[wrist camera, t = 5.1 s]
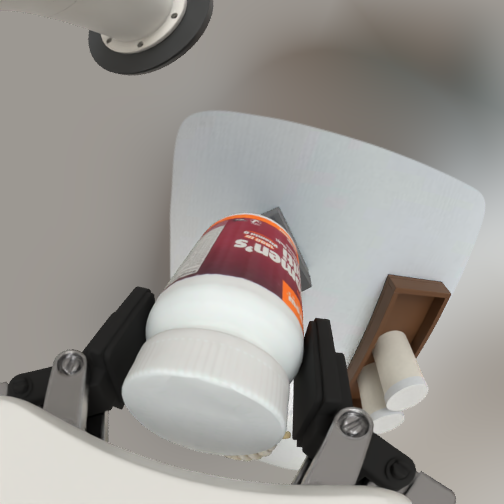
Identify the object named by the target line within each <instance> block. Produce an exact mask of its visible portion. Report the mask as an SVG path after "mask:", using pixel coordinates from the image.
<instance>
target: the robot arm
mask: <svg viewBox="0 0 504 504" xmlns="http://www.w3.org/2000/svg"><path fill="white" fill-rule="evenodd" d="M186 7H187V0H0V11H14V12H22V13H28V14H34V15H38V16H43V17H47V18H51V19H55V20H59V21H62V22H66V23H69V24H72V25H76V26H79V27H82V28H85V29H88V30H91V31H94V32H97V33H100V34H101V37H102V40H103V42H104V43H105V45H106V46H107V47H108V48H110V49H111V50H113V51H116V52H119V53H123V54H133V53H139V52H142V51H145V50H148V49H150V48H152V47H154V46H156V45H157V44H159V43H160V42H162V41H163V40H164V39H165V38H167V37H168V36H169V35H170V34H171V33H172V32H173V31H174V30H175V29H176V28H177V26H178V25H179V23H180V22H181V20H182V18H183V16H184V14H185V11H186ZM154 304H155V298H154V294H153V293H151V291H150V290H149V289H146V288H142V287H136V288H135V289H134V290H133V291H132V292H131V293H130V295H129V296H128V297H127V298H126V300H125V301H124V302H123V303H122V305H121V306H120V307H119V308H118V310H117V311H116V312H114V313H113V314H112V315H111V316H110V317H109V318H108V320H107V321H106V322H105V323H104V325H103V326H102V327H101V328H100V330H99V331H98V332H97V334H96V335H95V336H94V337H93V339H92V340H91V341H90V343H89V344H88V345H87V347H86V348H85V349H84V351H83V352H80V351H78V350H73V349H72V350H66V351H63V352H62V353H60V354H59V355H58V356H57V357H56V358H55V360H54V362H53V366H52V367H49V368H45V369H41V370H36V371H32V372H28V373H23V374H19V375H17V376H15V377H14V378H13V379H12V380H11V381H10V383H9V384H8V383H7V382H3V383H0V504H455V503H456V496H455V494H454V492H453V491H452V490H450V489H449V488H447V487H445V486H444V485H442V484H441V483H439V482H437V481H436V480H434V479H433V478H431V477H430V476H428V475H427V474H425V473H424V472H422V471H421V472H420V473H418V472H417V471H416V468H415V464H414V463H413V461H412V460H411V459H410V458H409V457H408V456H406V455H405V454H403V453H402V452H401V451H399V450H398V449H396V448H395V447H393V446H392V445H391V444H389V443H388V442H386V441H385V440H384V439H382V438H381V437H380V436H378V435H377V434H376V433H374V432H373V428H374V423H373V419H372V418H371V416H370V415H369V414H368V413H367V412H366V411H364V410H362V409H360V408H357V407H353V403H352V397H351V391H350V385H349V379H348V373H347V367H346V362H345V357H344V354H343V353H336V352H335V348H334V342H333V336H332V330H331V325H330V320H328V319H320V318H315V320H314V321H310V322H309V324H308V327H307V331H306V334H305V337H304V354H303V360H302V363H301V366H300V369H299V371H298V373H297V375H296V376H295V378H294V395H293V434H292V438H293V440H297V447H302V452H304V453H305V454H306V455H307V456H306V458H305V460H304V462H303V464H302V465H301V467H300V469H299V471H298V473H297V475H296V476H295V478H294V480H293V482H292V483H291V485H290V484H274V483H263V482H252V481H246V480H238V479H232V478H226V477H220V476H215V475H210V474H205V473H200V472H196V471H192V470H188V469H184V468H180V467H177V466H173V465H169V464H166V463H162V462H159V461H156V460H153V459H150V458H147V457H144V456H141V455H139V454H136V453H133V452H130V451H128V450H125V449H123V448H120V447H118V446H115V445H113V444H110V443H108V418H109V417H108V416H109V410H111V409H112V407H113V406H114V407H117V408H119V409H122V408H123V406H124V405H125V403H124V401H123V398H122V386H123V383H124V380H125V378H126V376H127V374H128V372H129V371H130V369H131V367H132V365H133V363H134V362H135V359H136V357H137V355H138V353H139V351H140V349H141V347H142V346H143V344H144V343H145V342H146V323H147V319H148V316H149V313H150V311H151V309H152V307H153V305H154Z"/></svg>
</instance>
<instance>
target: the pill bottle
mask: <svg viewBox="0 0 504 504" xmlns="http://www.w3.org/2000/svg"><path fill="white" fill-rule="evenodd" d="M303 354H304V330H303V311H302V293H301V278H300V269H299V259H298V253H297V249H296V246H295V244H294V242H293V240H292V238H291V237H290V235H289V234H288V233H287V231H286V230H285V229H284V228H283V227H282V226H280V225H279V224H278V223H276V222H275V221H273V220H272V219H270V218H267V217H265V216H262V215H259V214H254V213H238V214H233V215H229V216H226V217H224V218H222V219H220V220H218V221H217V222H215V223H214V224H213V225H212V226H210V227H209V229H208V230H207V231H206V232H205V233H204V234H203V236H202V237H201V238H200V240H199V241H198V242H197V244H196V245H195V246H194V248H193V249H192V251H191V252H190V253H189V255H188V256H187V258H186V259H185V260H184V262H183V263H182V265H181V266H180V267H179V269H178V270H177V272H176V273H175V274H174V276H173V277H172V279H171V280H170V281H169V283H168V284H167V286H166V287H165V288H164V290H163V291H162V293H161V294H160V295H159V297H158V298H157V300H156V302H155V304H154V305H153V307H152V309H151V311H150V313H149V316H148V319H147V323H146V342H145V343H144V344H143V346H142V347H141V349H140V351H139V353H138V355H137V357H136V359H135V362H134V363H133V365H132V367H131V369H130V371H129V372H128V374H127V376H126V378H125V380H124V383H123V386H122V398H123V401H124V403H125V405H126V407H127V409H128V410H129V412H130V413H131V414H132V415H133V416H134V417H135V418H136V419H137V420H138V421H139V422H140V423H141V424H142V425H143V426H144V427H146V428H147V429H149V430H150V431H152V432H153V433H155V434H156V435H158V436H160V437H162V438H164V439H166V440H168V441H170V442H172V443H174V444H177V445H179V446H182V447H185V448H188V449H192V450H195V451H199V452H204V453H209V454H216V455H226V456H237V455H249V454H255V453H259V452H262V451H265V450H268V449H270V448H272V447H274V446H275V445H277V444H278V443H279V442H280V441H281V440H282V439H283V437H284V435H285V432H286V429H287V417H288V402H289V393H290V383H291V382H292V380H293V379H294V378H295V376H296V375H297V373H298V371H299V369H300V366H301V363H302V360H303Z"/></svg>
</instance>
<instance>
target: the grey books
mask: <svg viewBox="0 0 504 504" xmlns="http://www.w3.org/2000/svg"><path fill="white" fill-rule="evenodd" d="M261 215H262V216H265V217H267V218H270V219H272V220H273V221H275V222H276V223H278V224H279V225H280V226H282V227H283V228H284V229H285V230H286V231H287V233H288V234H289V235H290V237H291V238H292V240H293V242H294V244H295V246H296V249H297V253H298V259H299V269H300V278H301V292H302V291H304V290H306V289H308V288H310V287H312V286H311V279H310V275H309V272H308V268H307V266H306V264H305V262H304V259H303V257H302V255H301V253H300V251H299V248H298V246H297V244H296V242H295V240H294V238H293V235H292V233H291V231H290V229H289V227H288V225H287V223H286V221H285V218H284V216H283V214H282V212H281V210H280V208H279V207H277V208H275V209H272V210H270V211H268V212H266V213H263V214H261Z"/></svg>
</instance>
